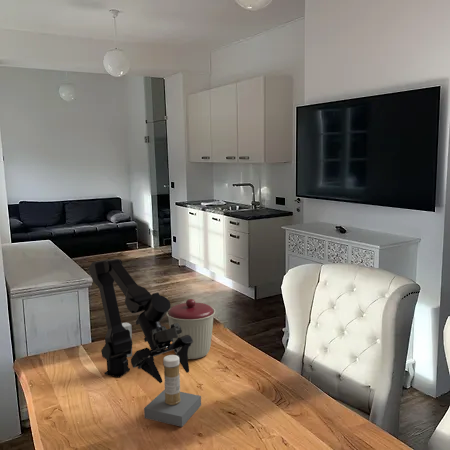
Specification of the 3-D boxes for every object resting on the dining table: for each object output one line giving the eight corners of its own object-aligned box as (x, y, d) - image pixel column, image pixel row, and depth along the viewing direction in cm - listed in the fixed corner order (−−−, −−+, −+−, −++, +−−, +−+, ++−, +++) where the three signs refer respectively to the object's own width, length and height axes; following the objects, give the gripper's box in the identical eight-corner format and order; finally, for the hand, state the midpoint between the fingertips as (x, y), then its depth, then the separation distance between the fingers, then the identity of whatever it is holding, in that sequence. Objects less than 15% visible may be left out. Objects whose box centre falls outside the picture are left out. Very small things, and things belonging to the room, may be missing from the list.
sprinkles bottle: (172, 396, 138) (171, 352, 136) (184, 400, 136) (182, 356, 134) (161, 402, 135) (159, 358, 133) (172, 407, 132) (171, 362, 130)
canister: (189, 340, 188) (187, 289, 185) (225, 351, 177) (224, 297, 174) (157, 356, 173) (155, 301, 170) (195, 368, 163) (193, 310, 160)
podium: (144, 418, 132) (144, 408, 132) (165, 397, 143) (165, 388, 143) (182, 426, 128) (181, 416, 127) (201, 405, 139) (200, 395, 138)
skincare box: (117, 360, 170) (115, 328, 169) (113, 356, 174) (111, 324, 172) (133, 356, 174) (131, 324, 172) (128, 352, 177) (127, 321, 176)
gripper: (134, 323, 128) (157, 375, 122) (189, 308, 140) (212, 355, 134) (121, 342, 135) (142, 392, 129) (174, 326, 147) (196, 371, 141)
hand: (175, 377), depth 133 cm, fingers open, 9 cm apart
